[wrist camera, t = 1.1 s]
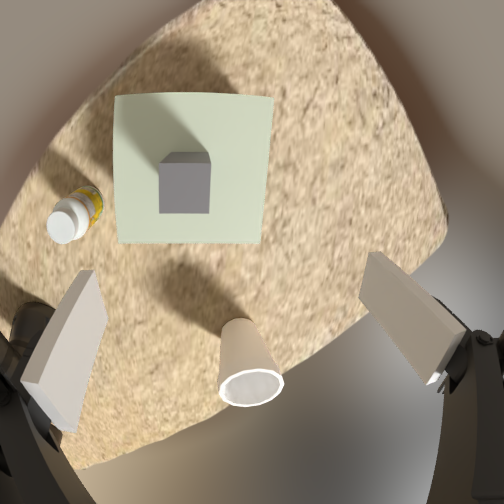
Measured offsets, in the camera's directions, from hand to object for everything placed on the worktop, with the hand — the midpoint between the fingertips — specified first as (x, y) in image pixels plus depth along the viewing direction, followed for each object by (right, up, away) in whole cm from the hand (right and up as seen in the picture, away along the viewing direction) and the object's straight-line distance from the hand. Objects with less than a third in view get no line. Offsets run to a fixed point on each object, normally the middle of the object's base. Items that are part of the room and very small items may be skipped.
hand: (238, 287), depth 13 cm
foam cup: (-2, -12, +36) cm, 38 cm away
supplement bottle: (-22, +8, +22) cm, 32 cm away
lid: (-6, +10, +14) cm, 18 cm away
